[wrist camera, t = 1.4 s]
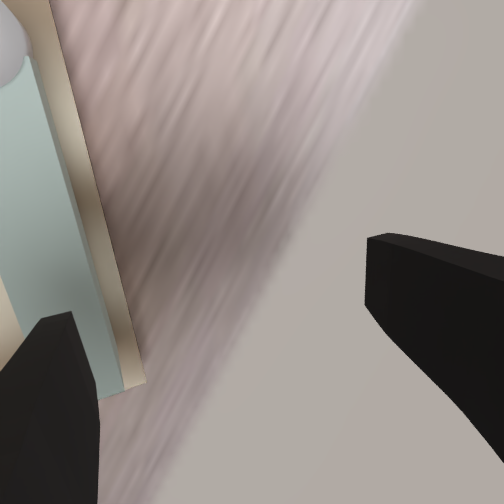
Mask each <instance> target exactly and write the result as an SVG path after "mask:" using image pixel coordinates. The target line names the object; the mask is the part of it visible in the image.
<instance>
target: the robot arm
mask: <svg viewBox="0 0 504 504" xmlns="http://www.w3.org/2000/svg"><path fill="white" fill-rule="evenodd" d="M365 283H366V284H365V306H366V308H367V309H368V310H369V312H370V313H371V314H372V316H373V317H374V319H375V320H376V322H377V323H378V324H379V325H380V327H381V328H382V329H383V331H384V332H385V333H386V334H387V335H388V336H389V337H390V339H391V340H392V341H393V342H394V343H395V344H396V345H397V346H398V347H399V348H400V349H401V350H402V351H403V352H404V353H405V354H406V355H407V356H408V357H409V358H410V359H411V360H412V361H413V362H414V363H415V364H416V365H417V366H418V367H419V368H420V369H421V370H422V371H423V372H424V373H425V374H426V375H427V376H428V377H429V378H430V379H431V380H432V381H433V382H434V383H435V384H436V385H438V387H439V388H440V389H441V390H442V391H443V392H444V393H445V394H446V395H447V396H448V397H449V398H450V399H451V400H452V401H453V402H454V403H455V404H456V405H457V406H458V408H459V409H460V410H461V411H462V412H463V413H464V414H465V415H466V417H467V418H468V419H469V420H470V422H471V423H472V424H473V425H474V427H475V428H476V429H477V430H478V431H479V433H480V434H481V435H482V436H483V437H484V438H485V440H486V441H487V442H488V444H489V445H490V446H491V447H492V449H493V450H494V451H495V453H496V454H497V455H498V456H499V458H500V459H501V460H502V462H503V463H504V257H502V256H497V255H493V254H488V253H484V252H479V251H475V250H470V249H466V248H462V247H456V246H453V245H448V244H444V243H440V242H436V241H431V240H427V239H422V238H418V237H413V236H408V235H402V234H395V233H386V234H381V235H377V236H373V237H369V238H367V255H366V282H365ZM99 442H100V420H99V408H98V398H97V389H96V382H95V379H94V376H93V373H92V370H91V367H90V364H89V361H88V358H87V355H86V352H85V349H84V346H83V343H82V341H81V338H80V335H79V332H78V329H77V326H76V323H75V320H74V317H73V314H72V311H68V312H64V313H60V314H56V315H52V316H48V317H44V318H41V319H40V320H39V321H38V322H37V324H36V325H35V326H34V328H33V329H32V330H31V332H30V333H29V334H28V336H27V337H26V338H25V340H24V341H23V342H22V344H21V345H20V346H19V348H18V349H17V350H16V352H15V353H14V354H13V356H12V357H11V358H10V360H9V361H8V362H7V363H6V365H5V366H4V367H3V369H2V370H1V371H0V504H97V499H98V472H99Z"/></svg>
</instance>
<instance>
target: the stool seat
mask: <svg viewBox="0 0 504 504" xmlns="http://www.w3.org/2000/svg"><path fill="white" fill-rule="evenodd" d="M1 1H2V2H3V3H4V4H5V5H6V6H7V8H8V9H9V10H10V11H11V12H12V13H13V14H14V16H15V17H16V18H17V19H18V20H19V21H20V23H21V24H22V25H23V27H24V28H25V30H26V31H27V33H28V35H29V37H30V40H31V43H32V48H33V59H34V60H36V61H37V64H38V67H39V71H40V74H41V78H42V81H43V85H44V89H45V92H46V96H47V99H48V103H49V106H50V110H51V113H52V117H53V121H54V124H55V128H56V131H57V135H58V138H59V142H60V145H61V149H62V152H63V156H64V160H65V163H66V167H67V170H68V174H69V177H70V181H71V184H72V188H73V192H74V195H75V199H76V202H77V206H78V209H79V213H80V216H81V220H82V224H83V227H84V231H85V234H86V238H87V241H88V245H89V248H90V252H91V256H92V259H93V263H94V266H95V270H96V273H97V277H98V280H99V284H100V288H101V291H102V295H103V298H104V302H105V305H106V309H107V312H108V316H109V320H110V323H111V327H112V330H113V334H114V337H115V341H116V344H117V349H118V355H119V360H120V366H121V372H122V378H123V383H124V389H125V390H126V389H129V388H132V387H135V386H138V385H141V384H144V383H147V380H146V376H145V373H144V369H143V365H142V361H141V357H140V353H139V349H138V345H137V341H136V337H135V333H134V330H133V326H132V322H131V318H130V314H129V310H128V306H127V302H126V298H125V295H124V291H123V287H122V283H121V279H120V275H119V271H118V267H117V263H116V260H115V256H114V252H113V248H112V244H111V240H110V236H109V232H108V228H107V225H106V221H105V217H104V213H103V209H102V205H101V201H100V197H99V194H98V190H97V186H96V182H95V178H94V174H93V170H92V166H91V162H90V159H89V155H88V151H87V147H86V143H85V139H84V135H83V131H82V127H81V124H80V120H79V116H78V112H77V108H76V104H75V100H74V96H73V92H72V89H71V85H70V81H69V77H68V73H67V69H66V65H65V61H64V58H63V54H62V50H61V46H60V42H59V38H58V34H57V30H56V26H55V23H54V19H53V15H52V11H51V7H50V3H49V0H1ZM24 340H25V338H24V336H23V333H22V331H21V328H20V325H19V323H18V320H17V318H16V315H15V312H14V310H13V307H12V305H11V302H10V299H9V297H8V294H7V292H6V289H5V287H4V284H3V281H2V279H1V276H0V371H1V370H2V369H3V367H4V366H5V365H6V363H7V362H8V361H9V360H10V358H11V357H12V356H13V354H14V353H15V352H16V350H17V349H18V348H19V346H20V345H21V344H22V342H23V341H24Z"/></svg>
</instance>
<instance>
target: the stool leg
mask: <svg viewBox="0 0 504 504" xmlns="http://www.w3.org/2000/svg"><path fill="white" fill-rule="evenodd" d="M0 276H1V279H2V281H3V284H4V287H5V289H6V292H7V294H8V297H9V299H10V302H11V305H12V307H13V310H14V312H15V315H16V318H17V320H18V323H19V325H20V328H21V331H22V333H23V336H24V338H26V337H27V336H28V334H29V333H30V332H31V330H32V329H33V328H34V326H35V325H36V324H37V322H38V321H39V320H40V319H41V318H44V317H48V316H52V315H56V314H60V313H64V312H68V311H72V314H73V317H74V320H75V323H76V326H77V329H78V332H79V335H80V338H81V341H82V343H83V346H84V349H85V352H86V355H87V358H88V361H89V364H90V367H91V370H92V373H93V376H94V379H95V382H96V389H97V398H98V400H100V399H103V398H106V397H109V396H112V395H115V394H118V393H121V392H124V391H125V389H124V383H123V378H122V372H121V366H120V360H119V355H118V349H117V344H116V341H115V337H114V334H113V330H112V327H111V323H110V320H109V316H108V312H107V309H106V305H105V302H104V298H103V295H102V291H101V288H100V284H99V280H98V277H97V273H96V270H95V266H94V263H93V259H92V256H91V252H90V248H89V245H88V241H87V238H86V234H85V231H84V227H83V224H82V220H81V216H80V213H79V209H78V206H77V202H76V199H75V195H74V192H73V188H72V184H71V181H70V177H69V174H68V170H67V167H66V163H65V160H64V156H63V152H62V149H61V145H60V142H59V138H58V135H57V131H56V128H55V124H54V121H53V117H52V113H51V110H50V106H49V103H48V99H47V96H46V92H45V89H44V85H43V81H42V78H41V74H40V71H39V67H38V64H37V61H36V60H34V59H33V48H32V43H31V40H30V37H29V35H28V33H27V31H26V30H25V28H24V27H23V25H22V24H21V23H20V21H19V20H18V19H17V18H16V17H15V16H14V14H13V13H12V12H11V11H10V10H9V9H8V8H7V6H6V5H5V4H4V3H3V2H2V1H1V0H0Z"/></svg>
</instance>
